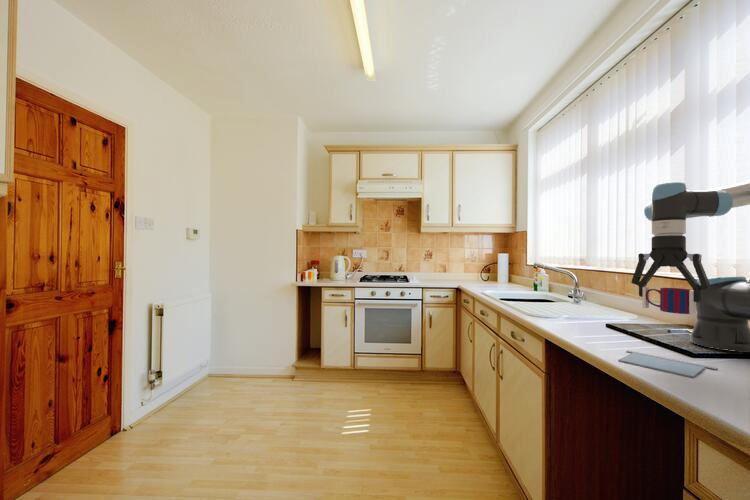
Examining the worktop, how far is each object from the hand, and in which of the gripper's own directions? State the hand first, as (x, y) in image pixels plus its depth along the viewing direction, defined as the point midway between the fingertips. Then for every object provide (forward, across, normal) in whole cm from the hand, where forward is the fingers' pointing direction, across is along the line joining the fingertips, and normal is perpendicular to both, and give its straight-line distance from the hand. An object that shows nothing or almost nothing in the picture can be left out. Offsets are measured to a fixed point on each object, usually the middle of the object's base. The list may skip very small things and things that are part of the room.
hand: (668, 310), depth 94 cm
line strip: (+15, 0, 0) cm, 15 cm away
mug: (0, 0, 0) cm, 0 cm away
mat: (+15, 0, -7) cm, 16 cm away
